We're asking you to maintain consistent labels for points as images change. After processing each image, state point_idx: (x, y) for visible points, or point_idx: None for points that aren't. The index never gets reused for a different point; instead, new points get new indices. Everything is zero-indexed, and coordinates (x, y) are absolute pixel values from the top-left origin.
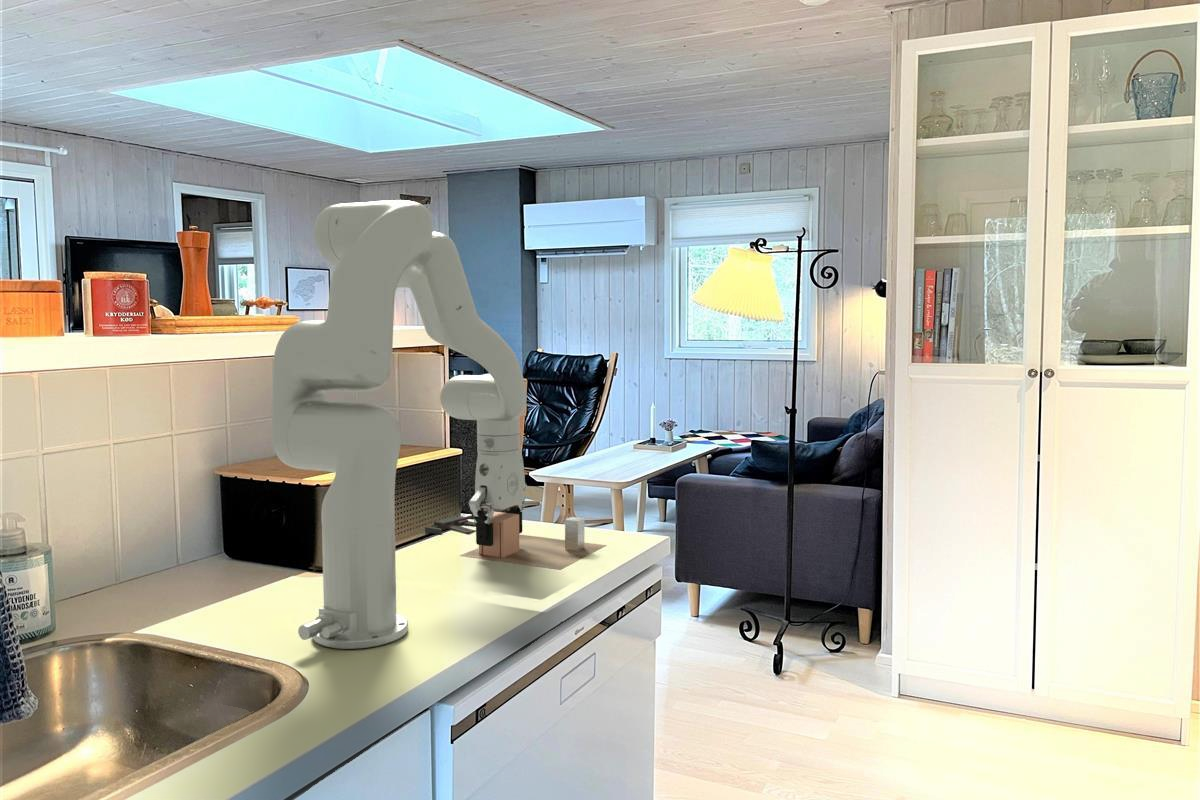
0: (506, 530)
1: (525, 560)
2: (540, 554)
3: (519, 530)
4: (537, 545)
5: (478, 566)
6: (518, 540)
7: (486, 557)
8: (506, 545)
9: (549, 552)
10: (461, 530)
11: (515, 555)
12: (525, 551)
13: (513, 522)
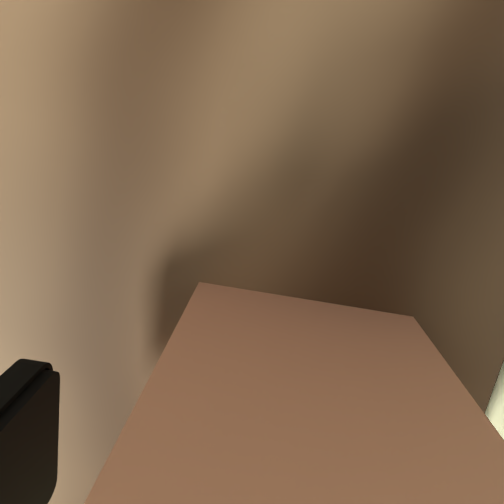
0: (448, 447)
1: (470, 128)
2: (256, 77)
3: (45, 384)
4: (11, 206)
5: None
6: (197, 316)
7: None
8: (398, 351)
9: (173, 22)
10: None
11: (343, 258)
12: (208, 229)
13: (281, 470)
